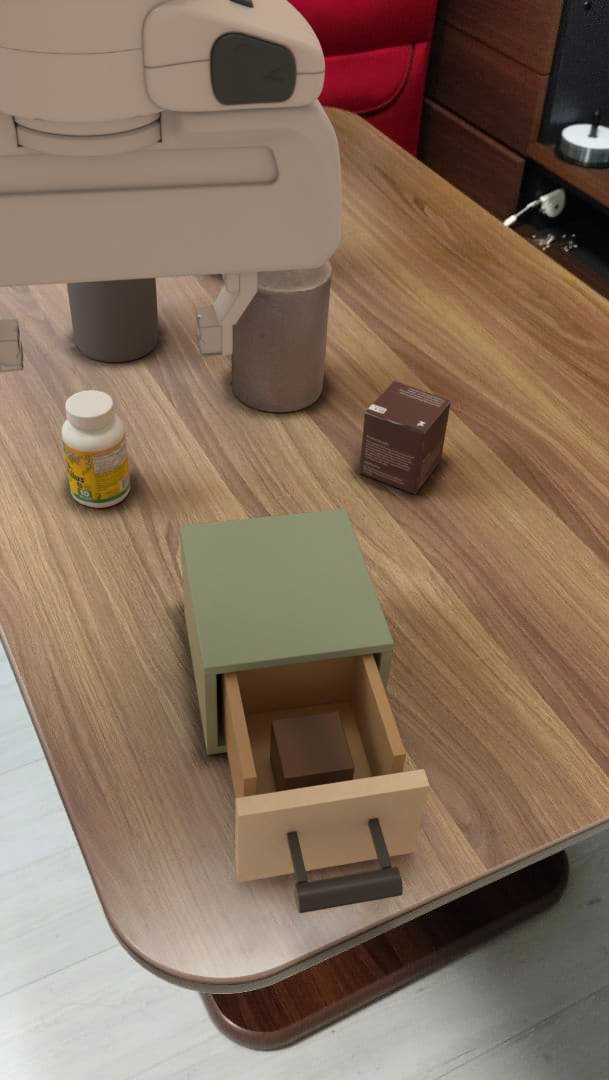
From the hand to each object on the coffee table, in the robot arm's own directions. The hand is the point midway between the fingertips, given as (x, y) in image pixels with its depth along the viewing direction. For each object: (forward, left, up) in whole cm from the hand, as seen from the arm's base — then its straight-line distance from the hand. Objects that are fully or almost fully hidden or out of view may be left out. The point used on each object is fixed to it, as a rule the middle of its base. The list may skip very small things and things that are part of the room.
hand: (112, 357), depth 45 cm
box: (+26, +29, -33) cm, 51 cm away
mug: (+2, +57, -33) cm, 66 cm away
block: (+10, -5, -31) cm, 33 cm away
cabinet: (+10, +7, -33) cm, 35 cm away
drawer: (+10, -6, -32) cm, 34 cm away
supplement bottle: (-2, +30, -33) cm, 45 cm away
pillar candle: (+17, +44, -33) cm, 58 cm away
